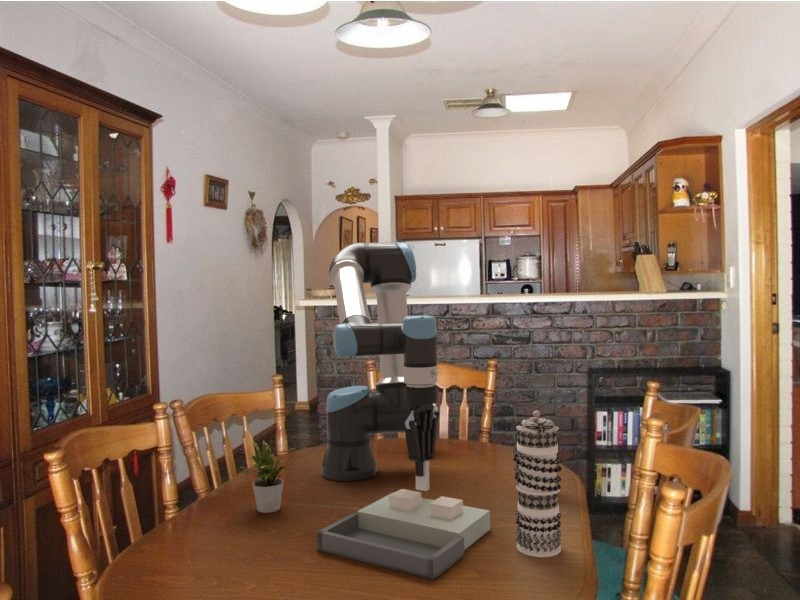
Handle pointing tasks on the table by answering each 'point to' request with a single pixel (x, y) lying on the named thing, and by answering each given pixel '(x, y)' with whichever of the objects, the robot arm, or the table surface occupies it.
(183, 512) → the table surface
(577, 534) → the table surface
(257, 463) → the house plant
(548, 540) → the black and white jar
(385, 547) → the tray
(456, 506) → the tile
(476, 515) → the board
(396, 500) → the tile
